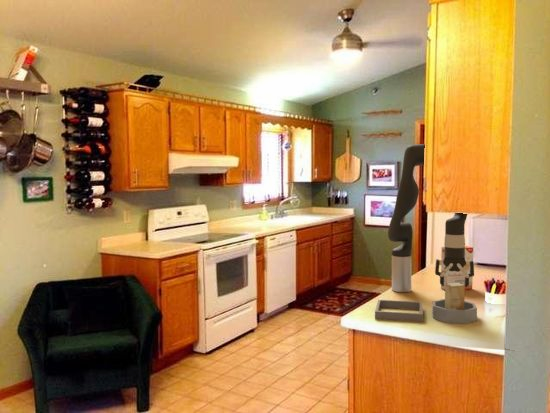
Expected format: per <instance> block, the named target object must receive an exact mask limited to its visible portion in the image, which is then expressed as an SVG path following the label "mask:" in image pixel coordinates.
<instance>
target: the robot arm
mask: <svg viewBox="0 0 550 413" xmlns="http://www.w3.org/2000/svg"><path fill="white" fill-rule="evenodd" d="M424 148H425V143H423V144H422V143H421V144H410V145H408V146H407V147H406V148H405V150H404V155H403V159H402V160H403V162H402V170H401V171H402V172H401V177H400V182H399V185H398V190H397V194H396V198H395V203H394V204H395V205H394V209H393V213H392V216H391V219H390V222H389V226H388V230H387V236H388V239H389V241H390V242H395V243H397V242H399V243H400V242H401V244H400V245H399V246H397V247H395V248H393V249H392V250H391V290H392V291H393V292H396V293H409V292H411V291H412V251H413V232H414V231H413V226H412V224H411V222H406V221H405V222H402V221H403V220H404V218H406V216H407V215H408V214H409V213H410V212H411V211H412V210H413V209H414V208H415V206H416V205H417V202H418V200H419V199H418V198H419V194H420V189H419V186H418V184H417V182H416V179H415V177H414V172H415V168H416V167H421V166H425V165H424ZM467 217H468V214H463V213H454V215H453V217H451V218H448V219H446V220H445V224H444V226H445V229H444V231H445V235H444V245H443V247H444V260H441V259H436V260H435V268H434V269H435V271H434V273H435V275H436V276H439V283H440V286H441V285H442V286H444V275H445V273H447V272H448V270H449V271H456V272H459V271H462V273H463V274H464V275H465V287H467V286H469V278H470V277H472V276H473V277H475V266H474V265H475V264H474V263H475V262H474V260H473V261H472V260H470V261H465V246H466V238H465V237H466V236H465V226H466V221H467ZM442 263H443V264H444V265H445V268H444V269H443V270H442V272H441V271H440V266H441V264H442ZM466 264H468V266H469V267H470V273H467V272H466V271H465V269H464V268H463V267H464V266H465V265H466Z"/></svg>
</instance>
